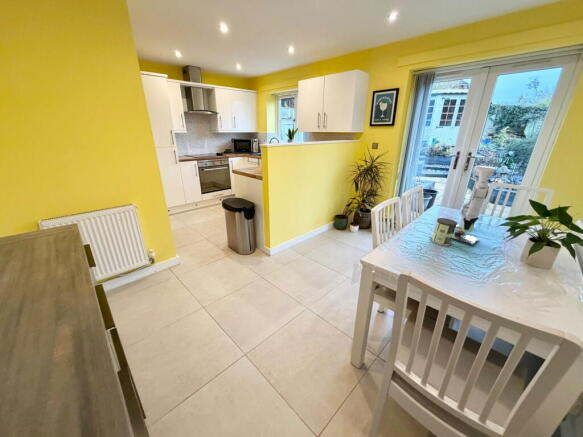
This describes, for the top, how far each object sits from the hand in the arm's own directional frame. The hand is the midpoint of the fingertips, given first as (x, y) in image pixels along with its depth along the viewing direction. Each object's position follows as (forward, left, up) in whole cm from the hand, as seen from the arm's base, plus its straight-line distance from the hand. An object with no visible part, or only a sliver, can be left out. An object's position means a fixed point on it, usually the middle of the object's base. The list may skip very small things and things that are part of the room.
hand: (467, 228), depth 141 cm
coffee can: (+14, -8, -9) cm, 19 cm away
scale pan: (+1, +2, -6) cm, 6 cm away
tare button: (-5, -4, -6) cm, 9 cm away
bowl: (0, 0, -1) cm, 1 cm away
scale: (-1, 0, -8) cm, 9 cm away
